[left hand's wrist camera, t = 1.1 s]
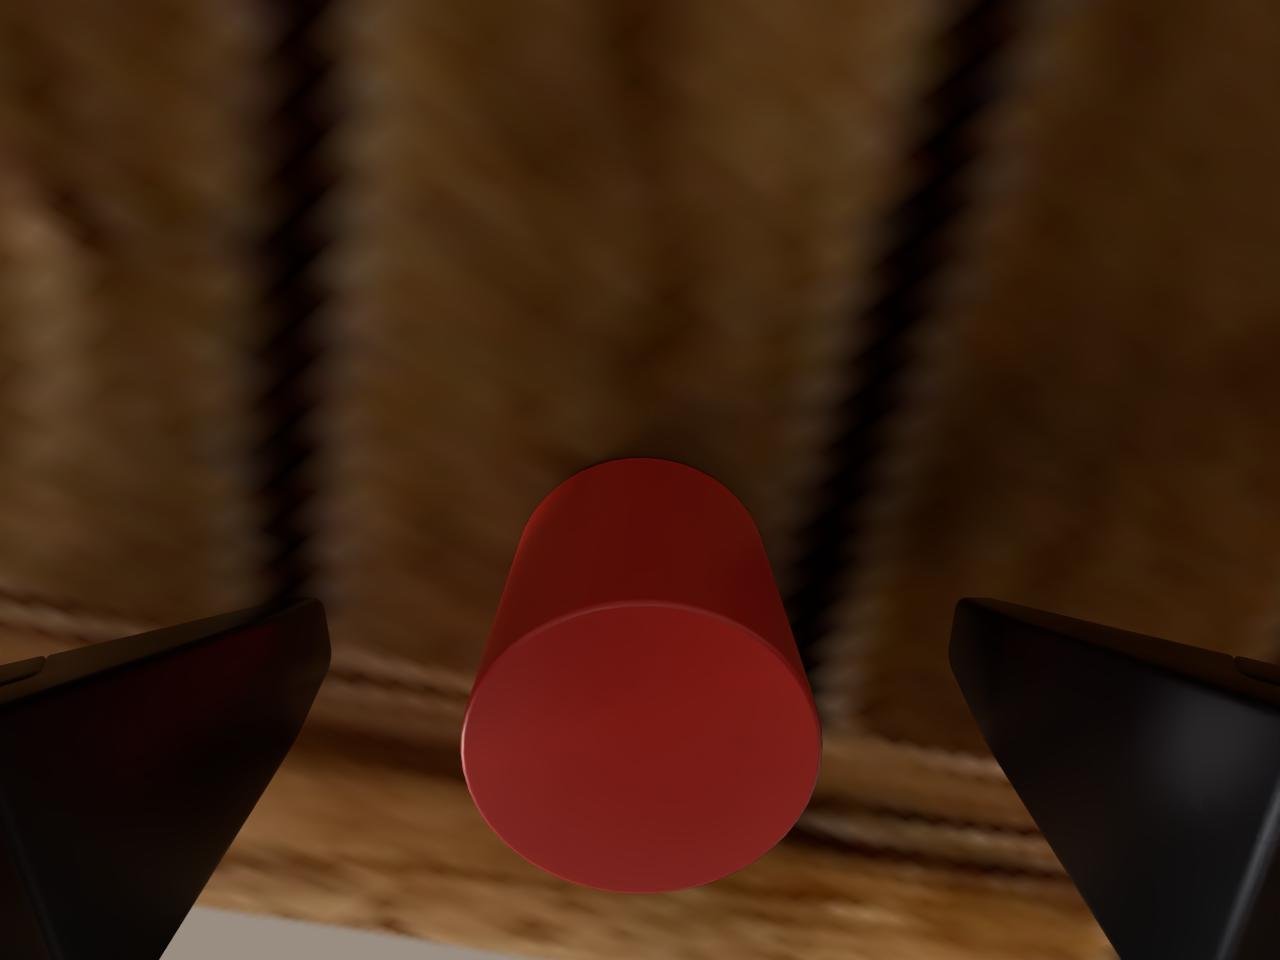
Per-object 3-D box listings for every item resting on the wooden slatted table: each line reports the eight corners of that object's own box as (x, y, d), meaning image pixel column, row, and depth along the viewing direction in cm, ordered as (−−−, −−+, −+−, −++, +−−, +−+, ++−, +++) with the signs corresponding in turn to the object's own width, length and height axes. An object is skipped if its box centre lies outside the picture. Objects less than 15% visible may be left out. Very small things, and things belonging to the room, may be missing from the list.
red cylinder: (612, 715, 14) (600, 943, 10) (466, 545, 13) (382, 723, 9) (810, 600, 13) (889, 797, 9) (674, 406, 12) (691, 530, 8)
